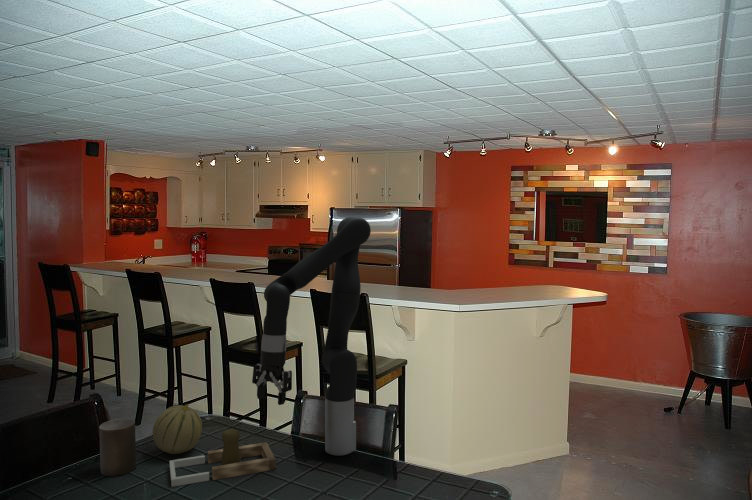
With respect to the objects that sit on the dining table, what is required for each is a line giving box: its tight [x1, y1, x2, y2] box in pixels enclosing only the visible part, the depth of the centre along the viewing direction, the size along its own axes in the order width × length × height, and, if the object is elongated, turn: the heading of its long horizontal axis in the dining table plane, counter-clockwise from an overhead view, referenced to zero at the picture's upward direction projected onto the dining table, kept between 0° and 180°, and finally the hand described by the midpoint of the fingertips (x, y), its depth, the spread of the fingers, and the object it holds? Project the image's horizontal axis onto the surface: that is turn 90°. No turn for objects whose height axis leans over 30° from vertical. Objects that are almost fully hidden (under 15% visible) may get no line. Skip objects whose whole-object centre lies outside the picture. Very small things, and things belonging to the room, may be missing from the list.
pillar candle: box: [98, 418, 137, 477], centre depth 161 cm, size 10×10×15 cm
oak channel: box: [207, 442, 277, 481], centre depth 165 cm, size 18×14×3 cm
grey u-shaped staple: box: [168, 455, 210, 488], centre depth 159 cm, size 10×13×2 cm
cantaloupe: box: [152, 403, 203, 455], centre depth 173 cm, size 15×15×15 cm
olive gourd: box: [220, 428, 242, 465], centre depth 163 cm, size 6×6×11 cm
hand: (270, 401), depth 167 cm, fingers open, 8 cm apart
